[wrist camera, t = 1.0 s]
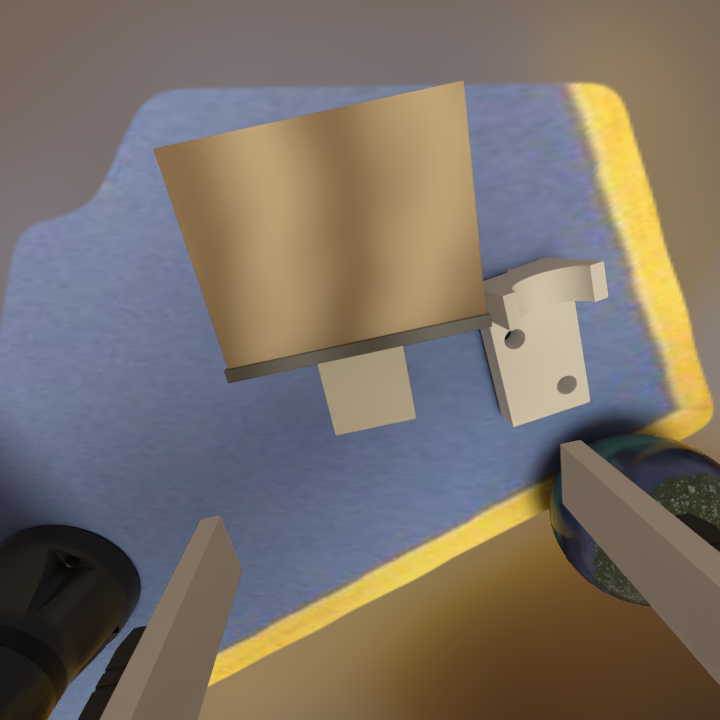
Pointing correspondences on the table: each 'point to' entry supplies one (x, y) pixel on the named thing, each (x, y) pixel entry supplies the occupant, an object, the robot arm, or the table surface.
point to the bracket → (539, 335)
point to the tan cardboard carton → (367, 390)
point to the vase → (655, 477)
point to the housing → (333, 231)
